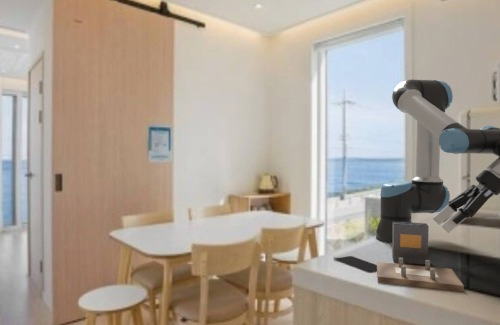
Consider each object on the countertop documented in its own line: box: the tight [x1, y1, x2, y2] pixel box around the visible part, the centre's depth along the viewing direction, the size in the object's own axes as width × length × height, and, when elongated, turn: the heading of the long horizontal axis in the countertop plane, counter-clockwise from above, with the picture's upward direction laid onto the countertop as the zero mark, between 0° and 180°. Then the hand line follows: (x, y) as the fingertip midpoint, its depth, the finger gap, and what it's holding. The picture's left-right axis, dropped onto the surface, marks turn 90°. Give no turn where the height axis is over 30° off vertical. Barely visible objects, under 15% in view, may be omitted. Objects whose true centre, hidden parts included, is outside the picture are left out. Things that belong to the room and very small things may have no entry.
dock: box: [376, 258, 465, 292], centre depth 97 cm, size 20×14×4 cm
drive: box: [391, 222, 430, 265], centre depth 114 cm, size 10×5×12 cm, turn 72°
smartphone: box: [335, 255, 377, 274], centre depth 110 cm, size 7×1×15 cm
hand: (439, 225), depth 110 cm, fingers open, 13 cm apart
